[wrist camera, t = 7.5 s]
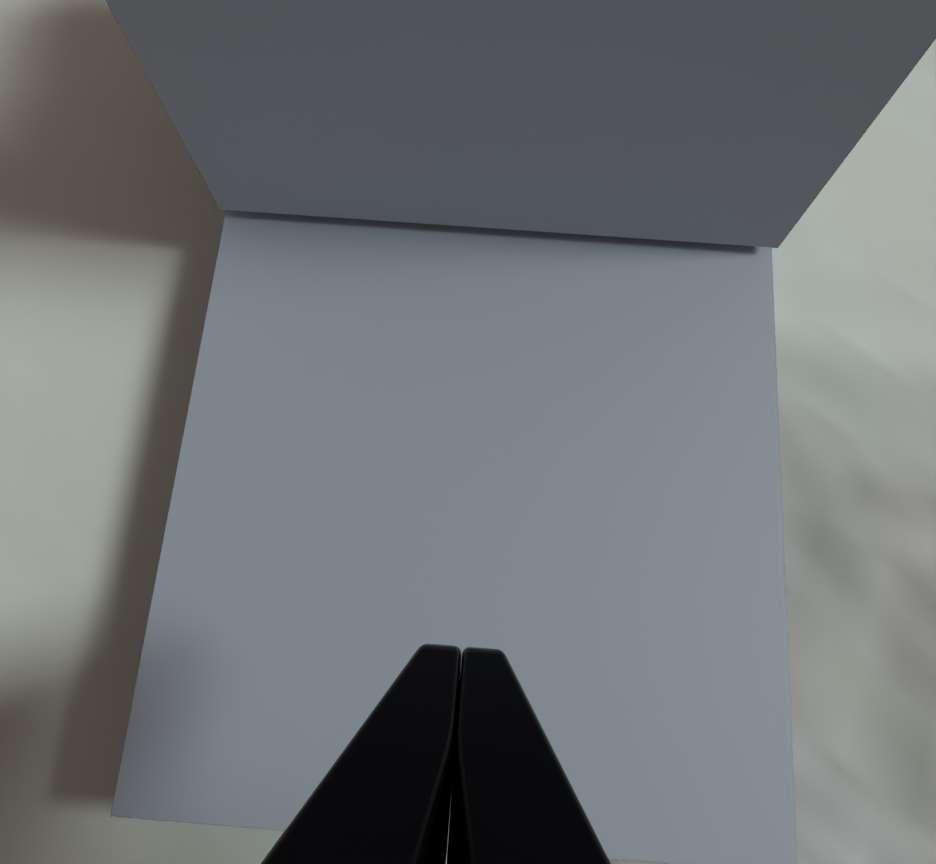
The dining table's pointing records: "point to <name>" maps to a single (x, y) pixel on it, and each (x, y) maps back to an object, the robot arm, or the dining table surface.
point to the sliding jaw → (528, 107)
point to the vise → (478, 522)
